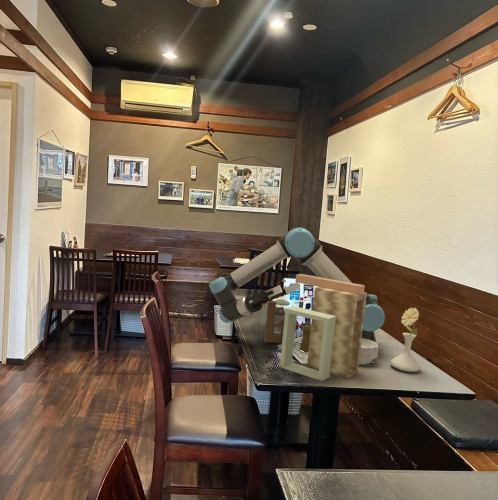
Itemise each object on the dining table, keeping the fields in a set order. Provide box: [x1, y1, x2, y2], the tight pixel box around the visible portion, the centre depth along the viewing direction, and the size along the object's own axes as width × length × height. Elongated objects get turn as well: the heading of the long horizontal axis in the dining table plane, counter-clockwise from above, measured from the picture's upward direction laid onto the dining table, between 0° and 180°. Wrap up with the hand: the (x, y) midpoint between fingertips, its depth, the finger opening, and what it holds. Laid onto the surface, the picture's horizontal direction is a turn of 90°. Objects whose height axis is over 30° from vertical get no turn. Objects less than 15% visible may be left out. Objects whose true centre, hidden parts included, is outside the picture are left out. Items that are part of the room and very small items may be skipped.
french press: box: [273, 278, 291, 334], centre depth 212 cm, size 10×12×25 cm
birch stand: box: [306, 286, 368, 380], centre depth 166 cm, size 16×10×30 cm, turn 54°
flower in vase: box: [390, 307, 422, 373], centre depth 173 cm, size 13×11×25 cm
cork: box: [299, 324, 311, 352], centre depth 186 cm, size 6×6×11 cm
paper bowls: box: [359, 338, 379, 365], centre depth 180 cm, size 15×15×8 cm
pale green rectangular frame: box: [278, 305, 337, 382], centre depth 161 cm, size 18×6×22 cm, turn 54°
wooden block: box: [263, 300, 285, 345], centre depth 194 cm, size 4×11×18 cm, turn 95°
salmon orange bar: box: [295, 273, 366, 295], centre depth 167 cm, size 26×4×3 cm, turn 54°
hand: (290, 286), depth 177 cm, fingers open, 13 cm apart
